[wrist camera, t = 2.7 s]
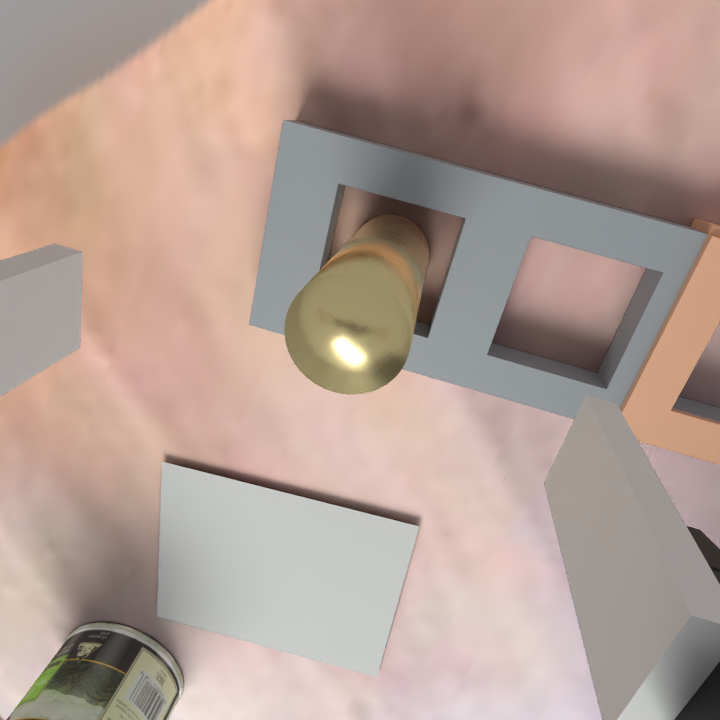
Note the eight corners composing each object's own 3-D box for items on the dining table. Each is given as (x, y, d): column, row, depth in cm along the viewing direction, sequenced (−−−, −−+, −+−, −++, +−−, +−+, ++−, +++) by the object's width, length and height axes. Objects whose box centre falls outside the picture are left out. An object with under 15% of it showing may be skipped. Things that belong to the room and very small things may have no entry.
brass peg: (439, 226, 27) (427, 294, 16) (416, 302, 29) (392, 409, 18) (361, 205, 27) (297, 257, 16) (343, 281, 29) (274, 374, 18)
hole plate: (939, 283, 25) (985, 299, 22) (806, 470, 29) (835, 498, 27) (296, 111, 26) (282, 110, 24) (261, 312, 30) (246, 327, 28)
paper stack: (172, 320, 32) (166, 324, 31) (608, 420, 30) (611, 426, 29) (160, 609, 41) (156, 616, 41) (491, 699, 40) (492, 709, 39)
